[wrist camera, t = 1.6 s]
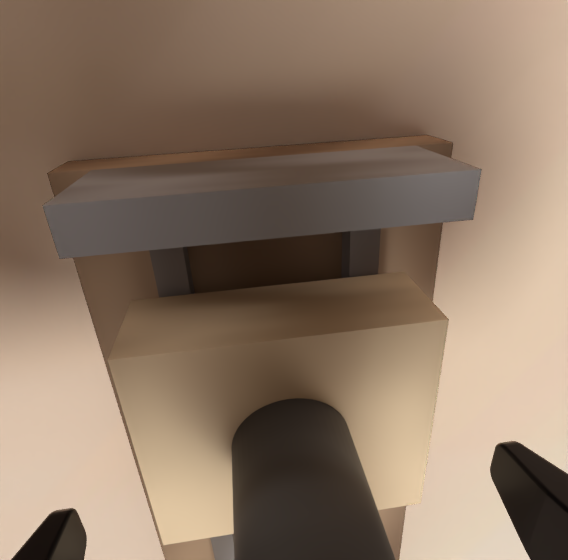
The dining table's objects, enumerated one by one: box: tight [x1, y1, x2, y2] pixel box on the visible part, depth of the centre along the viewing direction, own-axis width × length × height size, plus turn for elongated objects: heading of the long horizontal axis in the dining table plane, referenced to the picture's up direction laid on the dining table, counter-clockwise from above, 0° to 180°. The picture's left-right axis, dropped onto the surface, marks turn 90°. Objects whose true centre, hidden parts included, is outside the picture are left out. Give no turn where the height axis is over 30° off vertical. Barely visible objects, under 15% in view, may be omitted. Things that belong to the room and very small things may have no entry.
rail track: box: [43, 135, 481, 560], centre depth 14 cm, size 10×22×4 cm, turn 3°
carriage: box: [108, 272, 449, 560], centre depth 9 cm, size 7×6×6 cm
